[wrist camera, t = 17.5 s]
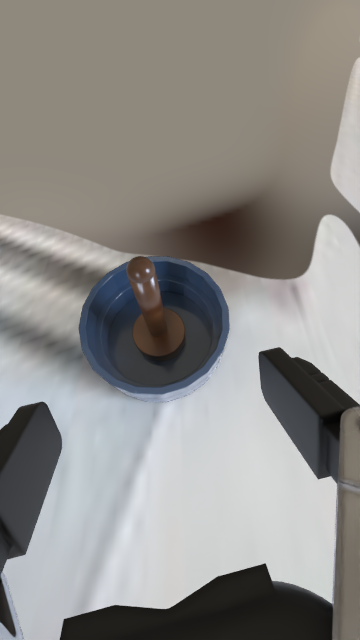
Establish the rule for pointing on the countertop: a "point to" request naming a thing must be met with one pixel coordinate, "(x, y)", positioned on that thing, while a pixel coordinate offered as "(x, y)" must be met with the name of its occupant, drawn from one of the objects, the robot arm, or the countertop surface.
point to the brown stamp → (153, 315)
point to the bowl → (123, 310)
